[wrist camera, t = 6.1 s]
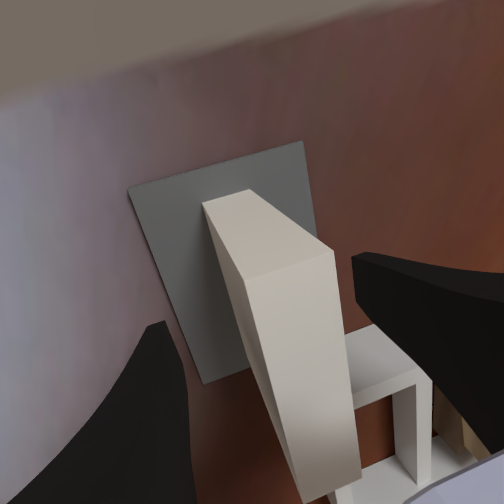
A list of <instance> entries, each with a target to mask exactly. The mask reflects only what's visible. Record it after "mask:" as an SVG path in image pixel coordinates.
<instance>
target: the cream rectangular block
mask: <svg viewBox="0 0 504 504" xmlns="http://www.w3.org/2000/svg"><path fill="white" fill-rule="evenodd" d="M202 206H203V209H204V212H205V216H206V219H207V223H208V226H209V229H210V233H211V236H212V239H213V243H214V246H215V250H216V253H217V256H218V260H219V263H220V267H221V270H222V273H223V277H224V280H225V283H226V287H227V290H228V294H229V297H230V300H231V304H232V307H233V311H234V314H235V317H236V321H237V324H238V328H239V331H240V334H241V338H242V341H243V344H244V348H245V351H246V355H247V358H248V360H249V363H250V365H251V368H252V371H253V373H254V376H255V379H256V381H257V384H258V386H259V389H260V392H261V394H262V397H263V400H264V402H265V405H266V407H267V410H268V413H269V415H270V418H271V421H272V423H273V426H274V428H275V431H276V434H277V436H278V439H279V441H280V444H281V447H282V449H283V452H284V455H285V457H286V460H287V462H288V465H289V468H290V470H291V473H292V476H293V478H294V481H295V483H296V486H297V489H298V491H299V494H300V497H301V499H302V502H303V504H306V503H308V502H311V501H313V500H315V499H317V498H319V497H322V496H324V495H326V494H328V493H330V492H333V491H335V490H337V489H339V488H341V487H344V486H346V485H348V484H350V483H352V482H355V481H357V480H359V479H361V478H362V471H361V463H360V455H359V447H358V439H357V431H356V423H355V416H354V408H353V400H352V392H351V384H350V376H349V368H348V360H347V352H346V345H345V337H344V329H343V321H342V313H341V305H340V297H339V289H338V282H337V274H336V266H335V258H334V251H333V250H331V249H330V248H329V247H327V246H326V245H325V244H323V243H322V242H321V241H319V240H318V239H317V238H315V237H314V236H312V235H311V234H310V233H308V232H307V231H306V230H304V229H303V228H302V227H300V226H299V225H298V224H296V223H295V222H294V221H292V220H291V219H290V218H288V217H287V216H285V215H284V214H283V213H281V212H280V211H279V210H277V209H276V208H275V207H273V206H272V205H271V204H269V203H268V202H267V201H265V200H264V199H263V198H261V197H260V196H258V195H257V194H256V193H254V192H253V191H252V190H250V189H248V190H245V191H241V192H238V193H234V194H231V195H227V196H224V197H220V198H217V199H213V200H210V201H207V202H203V203H202Z"/></svg>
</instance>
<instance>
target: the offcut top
mask: <svg viewBox="0 0 504 504" xmlns="http://www.w3.org/2000/svg"><path fill="white" fill-rule="evenodd" d="M462 426H463V437H464V446H465V447H466V448H467V449H468V450H469V451H470V453H471V454H472V455H473V456H474V457H475V458H476V459H477V460H478V461H480V460H482V459H484V458H487V457H489V456H491V454H490V453H489V451H488V450H487V449H486V447H485V446H484V445H483V443H482V442H481V441H480V439H479V438H478V437H477V436H476V434H475V433H474V432H473V430H472V429H471V428H470V426H469V425H468V424H467V423H466V421H465V420H464V419H463V417H462Z"/></svg>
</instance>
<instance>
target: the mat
mask: <svg viewBox="0 0 504 504" xmlns="http://www.w3.org/2000/svg"><path fill="white" fill-rule="evenodd" d="M248 189H250V190H252V191H253V192H254V193H256V194H257V195H258V196H260V197H261V198H263V199H264V200H265V201H267V202H268V203H269V204H271V205H272V206H273V207H275V208H276V209H277V210H279V211H280V212H281V213H283V214H284V215H285V216H287V217H288V218H290V219H291V220H292V221H294V222H295V223H296V224H298V225H299V226H300V227H302V228H303V229H304V230H306V231H307V232H308V233H310V234H311V235H312V236H314V237H315V238H317V232H316V225H315V218H314V211H313V205H312V198H311V191H310V185H309V178H308V171H307V165H306V158H305V151H304V144H303V141H297V142H294V143H290V144H286V145H283V146H279V147H275V148H272V149H268V150H264V151H261V152H257V153H254V154H250V155H246V156H243V157H239V158H235V159H232V160H228V161H224V162H221V163H217V164H213V165H210V166H206V167H202V168H199V169H195V170H191V171H188V172H184V173H180V174H177V175H173V176H169V177H166V178H162V179H159V180H155V181H151V182H148V183H144V184H140V185H137V186H133V187H129V188H128V189H127V190H128V193H129V195H130V198H131V200H132V203H133V206H134V208H135V211H136V213H137V216H138V218H139V221H140V223H141V226H142V229H143V231H144V234H145V236H146V239H147V241H148V244H149V247H150V249H151V252H152V254H153V257H154V259H155V262H156V265H157V267H158V270H159V272H160V275H161V277H162V280H163V282H164V285H165V288H166V290H167V293H168V295H169V298H170V300H171V303H172V306H173V308H174V311H175V313H176V316H177V318H178V321H179V324H180V326H181V329H182V331H183V334H184V336H185V339H186V341H187V344H188V347H189V349H190V352H191V354H192V357H193V359H194V362H195V365H196V367H197V370H198V372H199V375H200V377H201V380H202V382H203V385H205V384H207V383H210V382H213V381H215V380H218V379H221V378H223V377H226V376H229V375H231V374H234V373H236V372H239V371H242V370H244V369H247V368H250V367H251V365H250V363H249V360H248V358H247V355H246V351H245V348H244V344H243V341H242V338H241V334H240V331H239V328H238V324H237V321H236V317H235V314H234V311H233V307H232V304H231V300H230V297H229V294H228V290H227V287H226V283H225V280H224V277H223V273H222V270H221V267H220V263H219V260H218V256H217V253H216V250H215V246H214V243H213V239H212V236H211V233H210V229H209V226H208V223H207V219H206V216H205V212H204V209H203V206H202V203H203V202H207V201H210V200H213V199H217V198H220V197H224V196H227V195H231V194H234V193H238V192H241V191H245V190H248ZM317 239H318V238H317Z"/></svg>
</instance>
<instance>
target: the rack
mask: <svg viewBox="0 0 504 504" xmlns="http://www.w3.org/2000/svg"><path fill="white" fill-rule="evenodd" d="M344 337H345V345H346V352H347V360H348V368H349V376H350V384H351V392H352V400H353V408H354V410H355V409H357V408H359V407H362V406H364V405H367V404H369V403H371V402H374V401H376V400H379V399H381V398H383V397H386V396H388V395H390V394H392V404H393V421H394V439H395V455H393V456H391V457H388V458H386V459H384V460H382V461H379V462H377V463H375V464H373V465H371V466H368V467H366V468H364V469H362V470H361V471H362V478H361V479H359V480H357V481H355V482H352V483H350V484H348V485H346V486H344V487H341V488H339V489H337V490H335V491H333V492H330V493H328V494H326V495H327V497H328V499H329V501H330V503H331V504H402V503H403V502H404V501H405V500H407V499H408V498H410V497H411V496H413V495H414V494H416V493H417V492H419V491H420V490H422V489H423V488H425V487H427V486H428V485H430V484H432V483H434V482H436V481H438V480H440V479H442V478H444V477H447V476H449V475H451V474H453V473H455V472H457V471H459V470H461V469H463V468H465V467H468V466H470V465H472V464H474V463H476V462H478V460H477V459H476V458H475V457H474V456H473V455H472V454H471V453H470V451H467V452H464V453H462V454H460V455H458V456H457V455H456V453H455V452H454V451H453V450H452V449H451V448H450V447H449V446H448V444H447V443H446V442H445V441H444V440H443V439H442V438H441V437H440V436H439V435H437V436H435V437H433V438H431V433H432V380H431V379H430V378H429V377H428V376H427V375H426V373H425V372H424V371H423V370H422V369H421V368H420V367H419V366H418V365H417V364H416V363H415V362H414V361H413V360H412V359H411V358H410V357H409V356H408V355H407V354H406V353H405V352H403V351H402V350H401V349H400V348H399V347H398V346H397V345H396V344H395V343H394V342H393V341H392V340H391V339H390V338H389V337H387V336H386V335H385V334H384V333H383V332H382V331H381V330H380V329H379V328H378V327H377V326H376V325H375V324H372V325H370V326H367V327H364V328H362V329H359V330H356V331H354V332H351V333H349V334H346V335H344Z"/></svg>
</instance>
